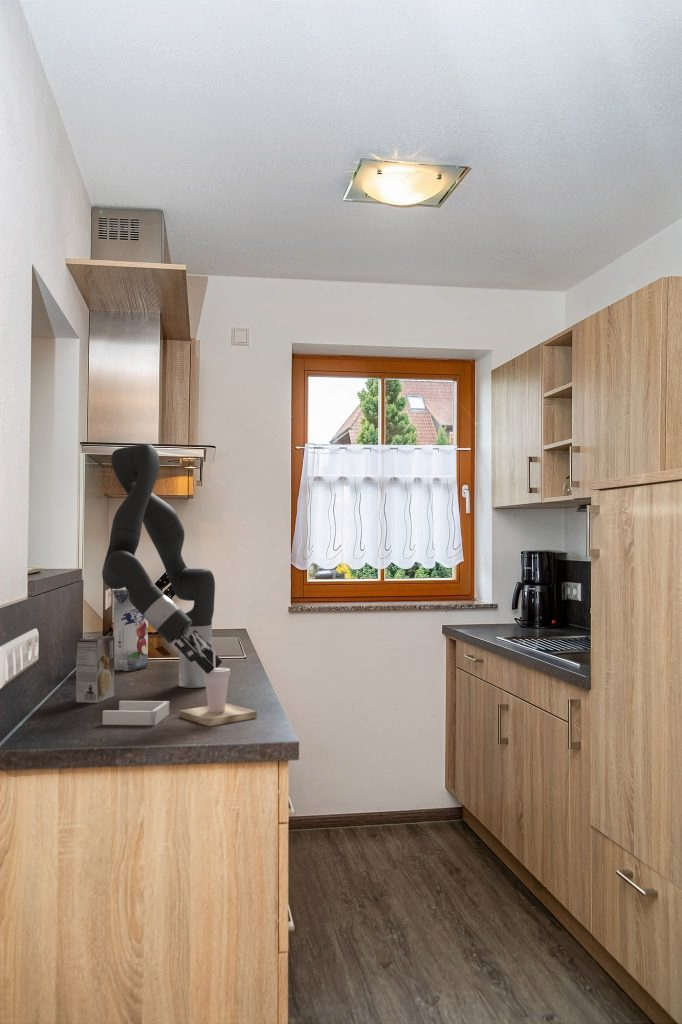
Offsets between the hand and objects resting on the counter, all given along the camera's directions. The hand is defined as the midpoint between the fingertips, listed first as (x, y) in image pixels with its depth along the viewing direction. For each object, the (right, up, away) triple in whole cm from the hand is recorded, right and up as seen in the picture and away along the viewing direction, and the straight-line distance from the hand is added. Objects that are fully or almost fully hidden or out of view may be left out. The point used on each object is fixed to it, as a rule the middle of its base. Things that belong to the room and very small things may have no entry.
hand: (215, 667), depth 193 cm
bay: (-18, -11, -2) cm, 21 cm away
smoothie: (0, -10, -1) cm, 10 cm away
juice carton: (-38, -14, +72) cm, 82 cm away
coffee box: (-35, -13, +22) cm, 43 cm away
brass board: (+1, -11, -1) cm, 11 cm away
